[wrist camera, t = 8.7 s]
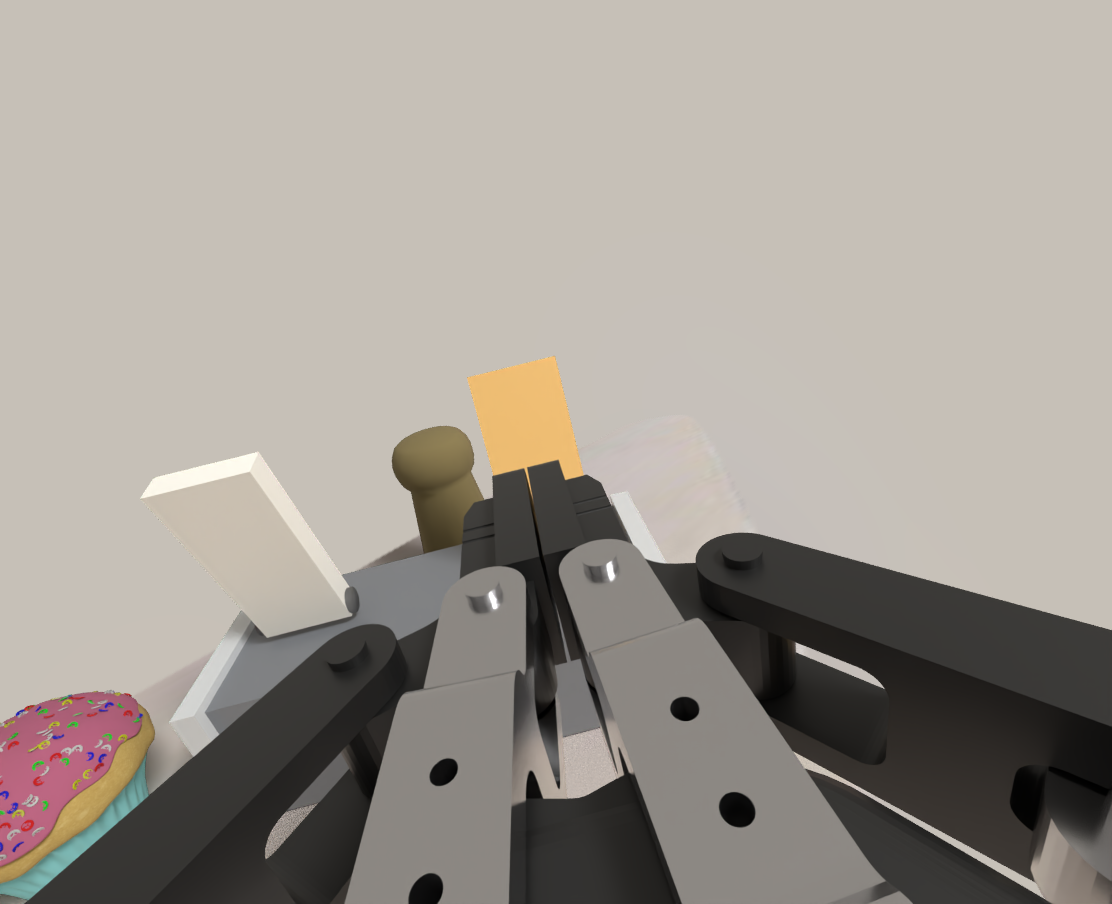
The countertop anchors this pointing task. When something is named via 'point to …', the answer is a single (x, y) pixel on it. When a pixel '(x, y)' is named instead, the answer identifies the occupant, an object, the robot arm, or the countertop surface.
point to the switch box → (385, 598)
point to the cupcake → (67, 781)
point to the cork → (438, 482)
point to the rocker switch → (253, 543)
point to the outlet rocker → (525, 418)
